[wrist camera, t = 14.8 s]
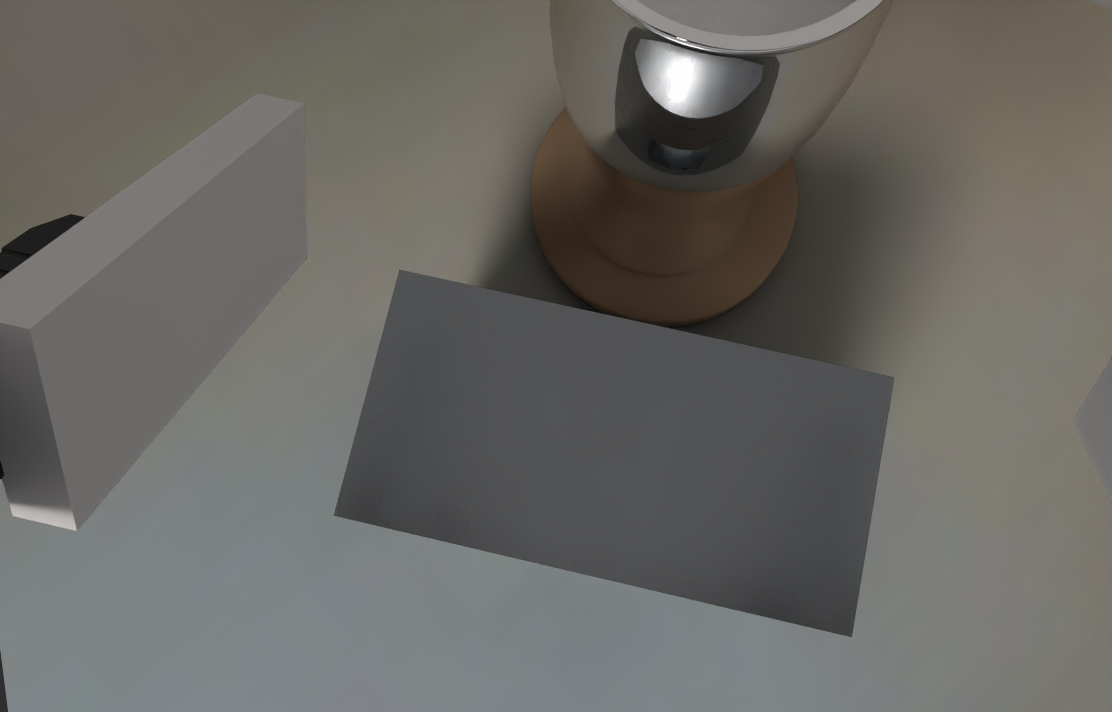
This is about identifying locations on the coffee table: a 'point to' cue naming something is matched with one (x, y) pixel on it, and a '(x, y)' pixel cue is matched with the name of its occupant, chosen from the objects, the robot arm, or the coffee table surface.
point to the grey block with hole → (620, 451)
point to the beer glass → (695, 111)
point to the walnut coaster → (655, 294)
